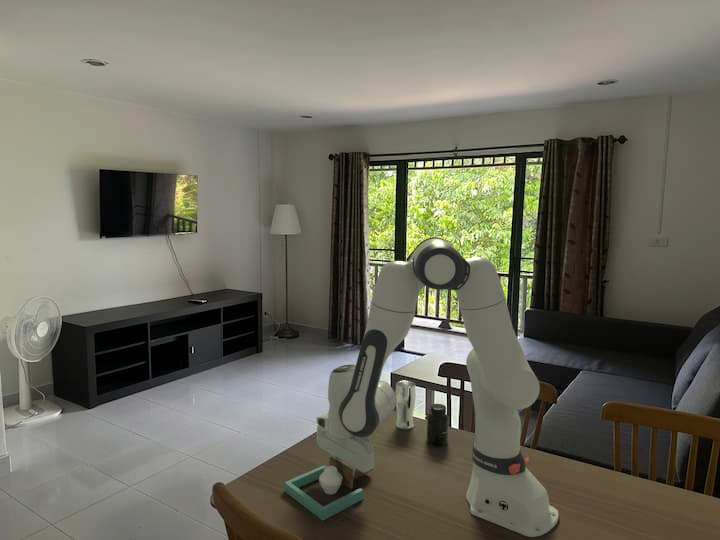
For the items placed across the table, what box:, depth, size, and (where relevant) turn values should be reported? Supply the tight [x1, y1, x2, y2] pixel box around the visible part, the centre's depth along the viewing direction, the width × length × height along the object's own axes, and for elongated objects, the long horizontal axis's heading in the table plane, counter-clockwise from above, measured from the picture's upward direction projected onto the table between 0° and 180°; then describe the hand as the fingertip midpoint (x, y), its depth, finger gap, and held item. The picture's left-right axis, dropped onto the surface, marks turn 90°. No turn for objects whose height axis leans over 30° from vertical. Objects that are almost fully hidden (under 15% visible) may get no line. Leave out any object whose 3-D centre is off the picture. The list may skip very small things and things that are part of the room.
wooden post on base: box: [328, 456, 374, 489], centre depth 134 cm, size 9×11×5 cm
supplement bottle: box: [426, 403, 450, 447], centre depth 156 cm, size 7×7×12 cm
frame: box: [283, 464, 364, 521], centre depth 127 cm, size 16×13×2 cm
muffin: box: [318, 465, 343, 495], centre depth 128 cm, size 6×6×7 cm
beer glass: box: [394, 380, 417, 431], centre depth 168 cm, size 7×7×15 cm
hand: (344, 473), depth 132 cm, fingers closed on wooden post on base, 3 cm apart
